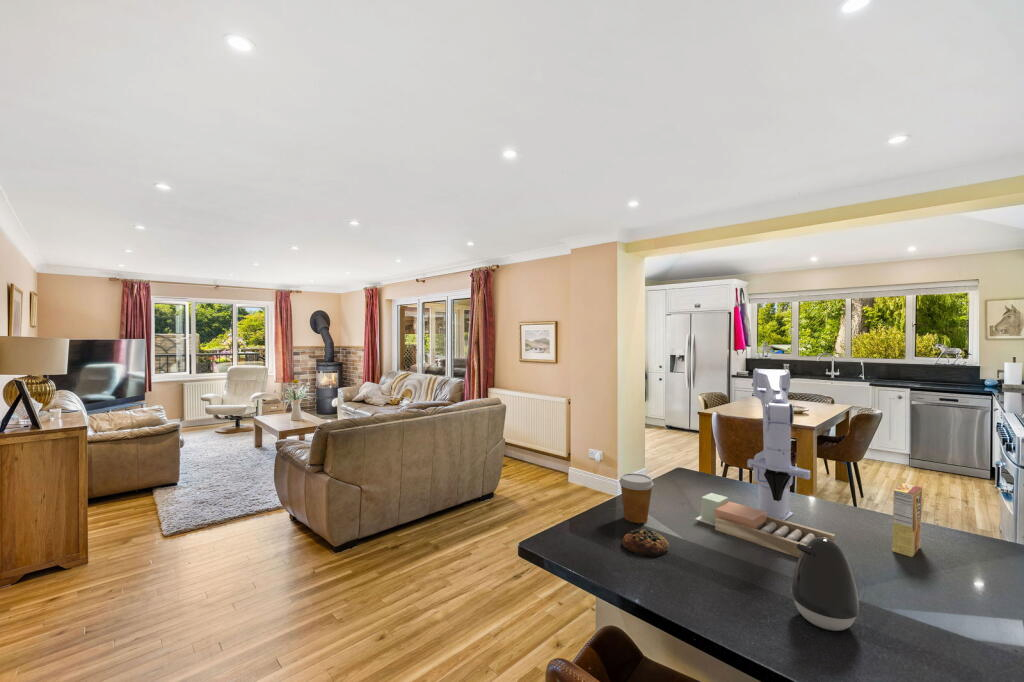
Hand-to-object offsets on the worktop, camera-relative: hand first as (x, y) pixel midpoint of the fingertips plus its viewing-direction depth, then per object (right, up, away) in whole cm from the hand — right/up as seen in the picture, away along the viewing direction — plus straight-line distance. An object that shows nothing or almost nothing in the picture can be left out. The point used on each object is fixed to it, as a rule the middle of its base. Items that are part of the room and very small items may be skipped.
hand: (777, 499), depth 119 cm
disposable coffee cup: (-35, -9, +9) cm, 37 cm away
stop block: (-12, -9, +10) cm, 18 cm away
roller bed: (-5, -9, +1) cm, 10 cm away
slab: (-8, -7, +4) cm, 11 cm away
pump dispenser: (-13, -10, -37) cm, 40 cm away
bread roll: (-37, -10, -7) cm, 39 cm away
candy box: (+28, -10, -8) cm, 30 cm away
